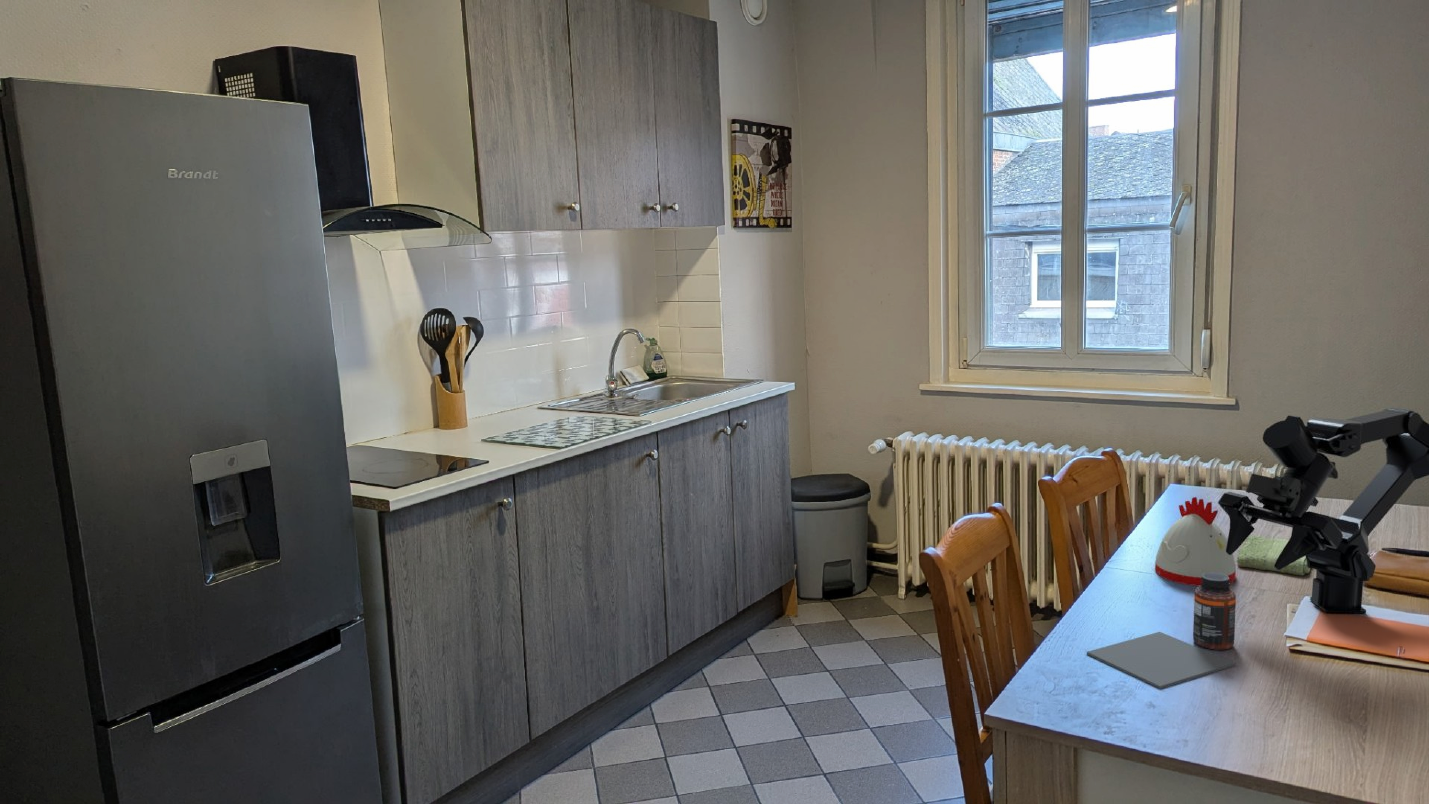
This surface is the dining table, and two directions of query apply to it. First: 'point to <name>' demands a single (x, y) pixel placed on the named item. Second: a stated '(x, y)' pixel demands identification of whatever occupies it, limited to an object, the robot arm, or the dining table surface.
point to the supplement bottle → (1214, 612)
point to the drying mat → (1160, 659)
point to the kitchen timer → (1194, 547)
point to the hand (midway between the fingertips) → (1251, 560)
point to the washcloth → (1268, 555)
